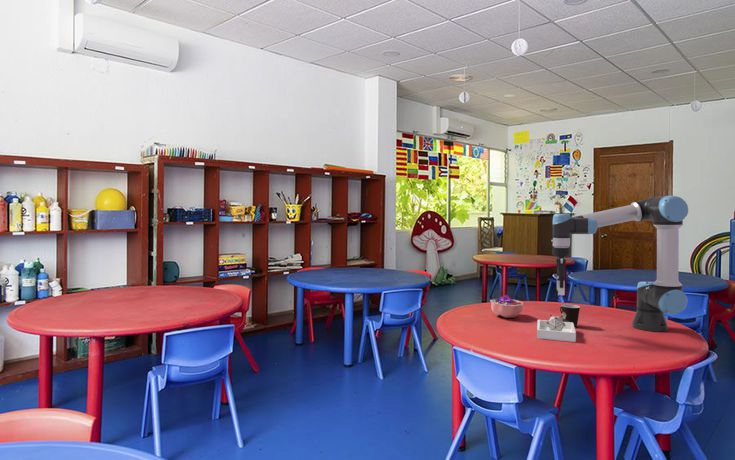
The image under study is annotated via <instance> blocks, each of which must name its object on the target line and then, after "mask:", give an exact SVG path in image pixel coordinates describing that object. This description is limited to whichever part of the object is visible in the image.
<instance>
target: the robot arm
mask: <svg viewBox="0 0 735 460" xmlns="http://www.w3.org/2000/svg"><path fill="white" fill-rule="evenodd" d="M688 213H689V206H688V204H687V201H686V200H684V199H683V198H682V197H681V196H676V195H659V196H650V197H648V198H643V199H641V200H638V201H633V202H631V203H630V204H629V205H624V206H619V207H614V208H610V209H606V210H601V211H595V212H590V213H586V214H582V215H576V216H571V214H570V213H555V214H553V216H552V239H551V241H550V242H552V253H551V254H552V255H553V256H555V257H557V259H556V260H555V263H556V291H557V295H558V296H565V294H566V291H565V290H566V288H565V286H566V285H565V280H566V278H565V277H566V272H565V271H566V264H567V263H566V262H567V260H566V259H565V258H564V257H569V256H570V255H571V254H570V253H571V251H570V250H571V248H570V246H571V235H594V234H596V233H597V231H598V229H599V228H602V227H607V226H612V225H616V224H622V223H625V222H626V223H627V222H631V221H635V222H641V221H652V224H653V226H654V228H656V279H655V280H654V281H638V283H637V285H636V286H637V287H636V290H637V291H636V312H635V314H634V317H633V319H632V323H631V326H632V327H633V328H635V329H637V330H640V331H641V330H642V331H648V332H667V331H668V322H667V319H666V316H665V314H668V315H677V314H681V313H682V312H683V311H684V310H685V309H686V308H687V306H688V303H689V300H688V296H687V295H686V294H685V292H684V291H683V283H681V282H680V281H679V268H680V267H679V266H680V265H679V260H680V259H679V255H680V253H679V251H680V250H679V247H680V246H679V245H680V244H679V243H680V241H679V240H680V237H679V235H680V234H679V232H680V231H679V229H680V228H681V227H682V226H683V225H684V224H683V220H684V219H685V218H687V216H688Z"/></svg>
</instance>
